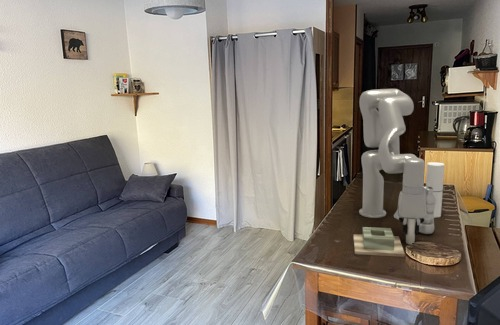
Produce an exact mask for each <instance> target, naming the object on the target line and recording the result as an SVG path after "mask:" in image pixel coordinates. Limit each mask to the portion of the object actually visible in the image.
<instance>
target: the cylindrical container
mask: <svg viewBox="0 0 500 325" xmlns="http://www.w3.org/2000/svg"><path fill="white" fill-rule="evenodd" d="M444 174H445V163H444V162H439V161H438V162H437V161H429V162H427V163H426V177H425V178H426V179H425V187H432V188H433V195H434V196H435V198H436V205H435V209H434V219H435V218H440V217H441V216H442V206H443V205H442V203H443V192H444V191H443V188H444V176H445V175H444Z"/></svg>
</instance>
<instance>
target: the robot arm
mask: <svg viewBox="0 0 500 325" xmlns="http://www.w3.org/2000/svg"><path fill="white" fill-rule="evenodd" d="M358 103H359V108H360V113H361V116H362V120H363V122H362V123H363V124H362V126H363V130H362V131H363V141H364V146H365V147H367V148H378V149H374V150H372V149H370V150H367V151H365V152H363V153H362V155H361V158H360V159H361V167H362V208H359V211H358V213H359V215H361V216H362V217H365V218H371V219H379V218H384V217H385V216H387V211H386V210H385V209H384V185H385V183H384V182H385V180H384V176H383V175H382V174H381V173H380V171H381V170H383V171H384V172H385V173H386V174H401V173H402V189H401V191H399V196H398V199H397V200H398V201H397V209H396V211H395V212H394V214H393V217H394V218H395V219H396V220H398V221H400V222H401V223H402V232H404V234H405V235H406V234H407V228H408V225H407V218H416V223H415V236H418V233H420V232H419V225H420V224H421V223H422V222H424V221H425V220H428V219H429V218H430V217H429V215H428V214H427V212H426V197H425V193H424V191H425V190H427V189H428V188H427V187H426V185H425V186H424V184H425V168H426V162H425V160H424V159H422V158H420V157H417V156H416V155H415V154H413V153H400V136H401V135H403V134H405V132H406V124H405V121H404V116H409V115H412V113H413V112H414V106H415V105H414V101H413V99H412V98H411V96H409V94H407V93H404V92H403V91H401V90H400V89H398V88H380V89H370V90H366V91H362V93H361V95H360V96H359V102H358Z"/></svg>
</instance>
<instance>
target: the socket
mask: <svg viewBox="0 0 500 325" xmlns="http://www.w3.org/2000/svg"><path fill="white" fill-rule="evenodd" d="M352 235H353V237H352V238H353V245H354V246H353V248H354V255H363V256H364V255H366V256H367V255H368V256H380V257H381V256H384V257H395V258H396V257H397V258H398V257H399V258H406V253H405V251H404V247H403V245H402V243H401V239H400V236H395V235H394V233H393V231H392V228H391V227H372V226H371V227H368V226H362V233H361V234H355V233H354V234H352Z"/></svg>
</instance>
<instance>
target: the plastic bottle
mask: <svg viewBox="0 0 500 325" xmlns="http://www.w3.org/2000/svg"><path fill="white" fill-rule="evenodd" d="M427 188H428V189H427V190H425V191H424V193H425V197H426V212H427V214H428V215H429V217H430V218H429V219H428V220H425V221H424V222H422V223H421V224H420V225H419V232H418V233H420V234H424V235H431V234H433V232H434V231H435V221H434V220H435V217H434V209H435V205H436V198H435V196H434V195H433V188H432V187H427Z"/></svg>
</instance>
